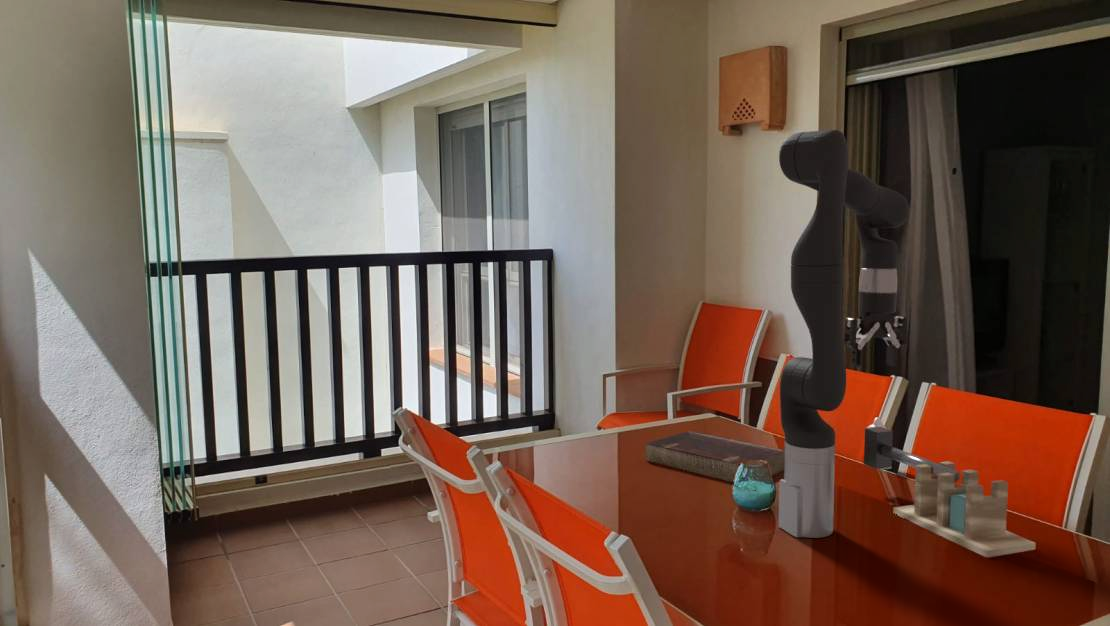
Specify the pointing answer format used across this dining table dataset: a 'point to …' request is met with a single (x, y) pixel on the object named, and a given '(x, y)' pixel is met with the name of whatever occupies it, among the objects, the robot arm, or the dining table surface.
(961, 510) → the block
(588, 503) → the dining table surface
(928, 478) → the bracket
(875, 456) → the shaft
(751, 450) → the hardback book
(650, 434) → the dining table surface
